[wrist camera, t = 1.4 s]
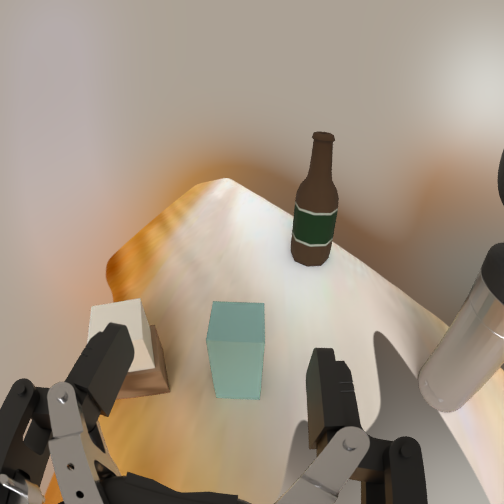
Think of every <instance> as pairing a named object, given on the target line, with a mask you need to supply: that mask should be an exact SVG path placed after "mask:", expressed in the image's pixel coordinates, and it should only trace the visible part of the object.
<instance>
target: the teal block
mask: <svg viewBox="0 0 504 504" xmlns="http://www.w3.org/2000/svg"><path fill="white" fill-rule="evenodd" d="M206 343H207V349H208V355H209V361H210V366H211V372H212V378H213V383H214V388H215V393H216V398H230V399H255V400H260V391H261V380H262V369H263V357H264V346H265V323H264V303H242V302H217V301H213V305H212V311H211V316H210V321H209V327H208V332H207V338H206Z"/></svg>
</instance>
